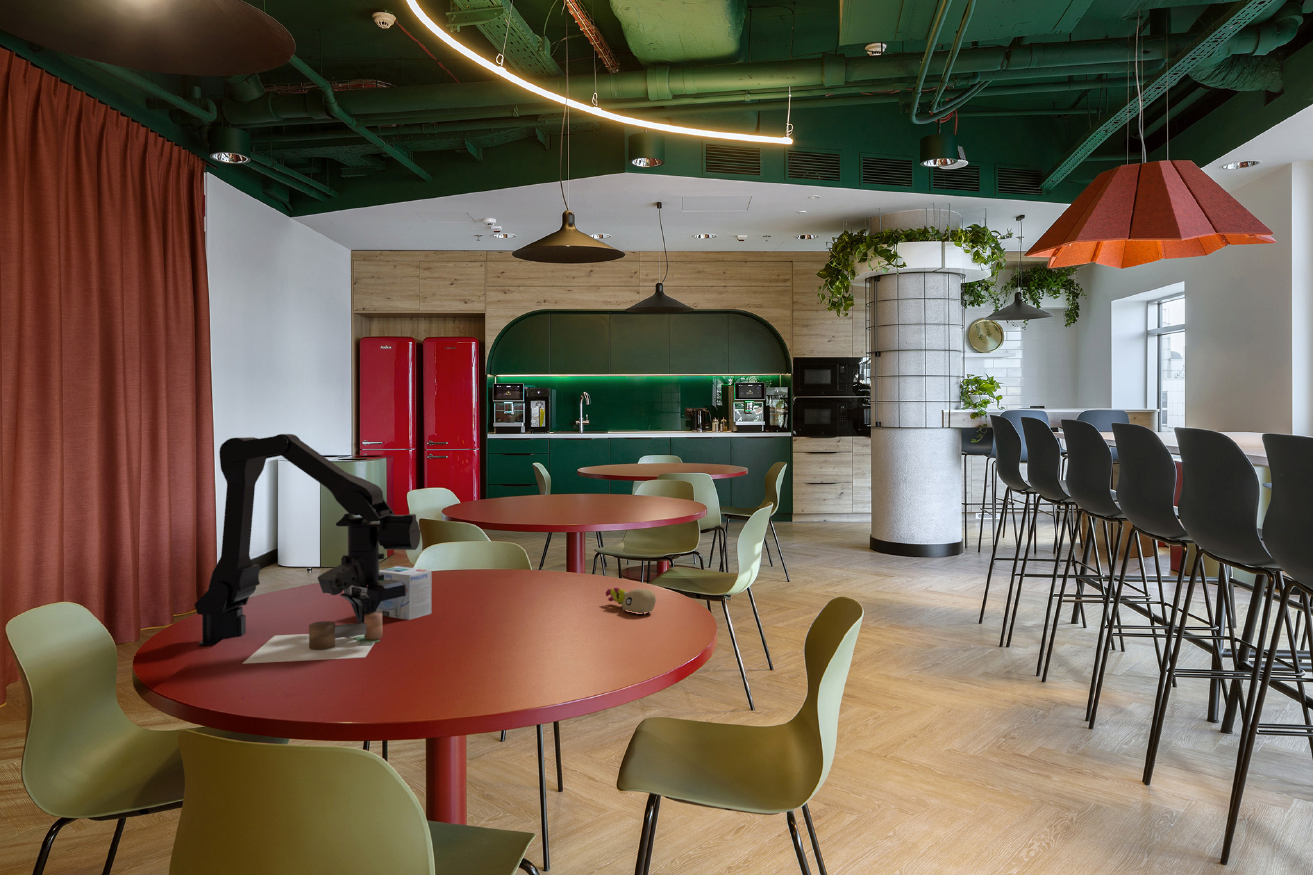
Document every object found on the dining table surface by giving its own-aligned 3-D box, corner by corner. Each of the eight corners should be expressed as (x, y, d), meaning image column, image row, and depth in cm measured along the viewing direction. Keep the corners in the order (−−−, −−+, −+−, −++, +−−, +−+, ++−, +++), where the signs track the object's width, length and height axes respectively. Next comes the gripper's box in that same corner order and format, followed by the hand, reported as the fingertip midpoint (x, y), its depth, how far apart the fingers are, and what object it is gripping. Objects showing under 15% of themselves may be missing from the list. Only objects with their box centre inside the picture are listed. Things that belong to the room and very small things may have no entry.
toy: (594, 593, 179) (632, 603, 167) (616, 574, 182) (655, 583, 171) (605, 613, 180) (643, 625, 169) (626, 594, 184) (665, 605, 172)
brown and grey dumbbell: (310, 650, 138) (310, 624, 138) (307, 644, 142) (307, 619, 142) (384, 640, 145) (384, 615, 145) (379, 635, 149) (379, 611, 148)
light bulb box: (373, 620, 166) (373, 570, 166) (397, 613, 172) (397, 565, 172) (409, 625, 161) (409, 574, 161) (433, 618, 167) (432, 569, 167)
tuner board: (242, 670, 131) (242, 662, 131) (274, 641, 149) (274, 634, 149) (370, 663, 135) (370, 655, 135) (387, 636, 153) (387, 629, 153)
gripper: (296, 550, 146) (296, 631, 147) (355, 560, 136) (355, 648, 136) (348, 542, 156) (349, 619, 156) (407, 551, 145) (408, 633, 146)
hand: (363, 629), depth 148 cm, fingers closed
